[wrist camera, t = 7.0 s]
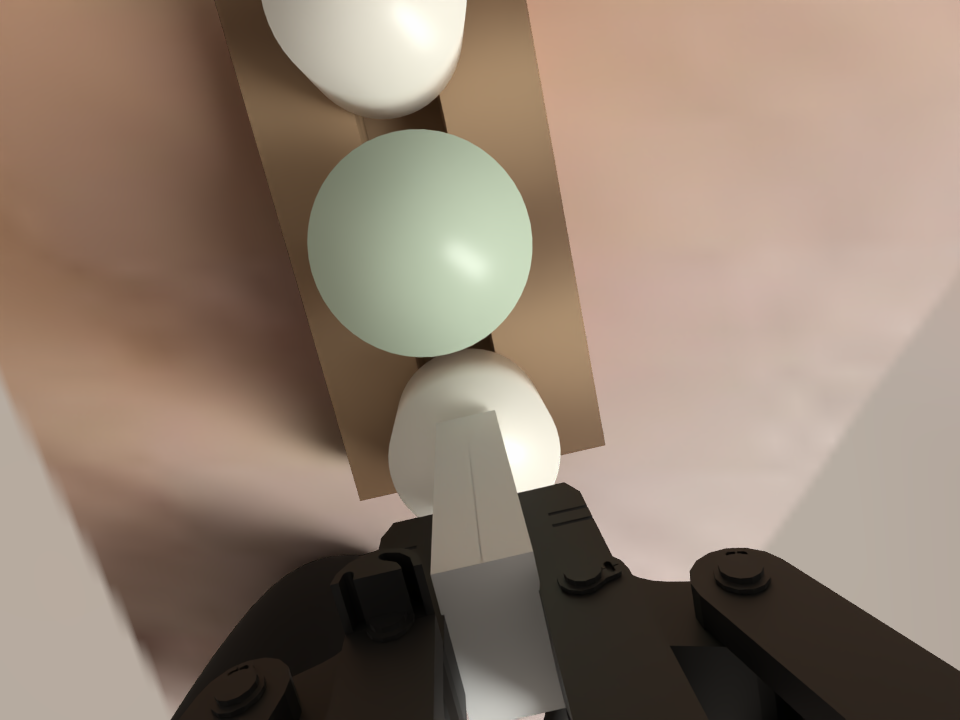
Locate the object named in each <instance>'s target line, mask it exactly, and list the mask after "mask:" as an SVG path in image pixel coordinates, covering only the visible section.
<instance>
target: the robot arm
mask: <svg viewBox="0 0 960 720" xmlns="http://www.w3.org/2000/svg"><path fill="white" fill-rule="evenodd" d="M330 588H331V591H332V594H333V597H334V600H335V604H336V607H337V610H338V613H339V616H340V620H341V623H342V626H343V629H344V632H345V638H344V642H343V647H342V651H341V652H339V653H338V654H337V655H335V656H334V657H332V658H330V659H328V660H327V661H325V662H323V663H321V664H319V665H317V666H315V667H313V668H310V669H308V670H306V671H304V672H302V673H300V674H297V675H295V676H293V677H292V676H291V673H290V670H289V667H288V666H287V665H286V664H285V663H284V662H282V661H281V660H280V659H274V658H266V657H265V658H260V659H255V660H250V661H247V662H244V663H241V664H239V665H238V666H237V665H236V666H234V667H232V668H230V669H228V670H227V671H226V672H224V673H223V674H221V675H220V676H219V677H217V678H216V679H214V680H213V681H211V682H210V683H209V684H208V685H207V686H206V687H205V688H204V689H203V690H202V691H201V693H200V694H199V695H198V696H197V697H196V698H195V699H194V701H193V702H192V703H191V704H190V706H189V707H188V708H187V710H186V711H185V712H184V713H183V715H182V716H181V717H180V719H179V720H467V715H466V709H467V713H468V717H469V720H514V719H519V718H523V717H527V716H532V715H536V714H540V713H545V712H549V711H553V710H558V709H562V708H566V712H567V716H568V720H960V671H958V670H957V669H955V668H954V667H952V666H951V665H949V664H948V663H946V662H945V661H943V660H941V659H940V658H938V657H937V656H935V655H933V654H932V653H930V652H929V651H927V650H925V649H924V648H922V647H921V646H919V645H918V644H916V643H914V642H913V641H911V640H910V639H908V638H907V637H905V636H903V635H902V634H900V633H898V632H897V631H895V630H894V629H892V628H890V627H889V626H888V625H886V624H884V623H883V622H881V621H880V620H878V619H876V618H875V617H873V616H872V615H870V614H869V613H867V612H865V611H864V610H862V609H861V608H859V607H857V606H856V605H854V604H852V603H851V602H849V601H848V600H846V599H845V598H843V597H842V596H840V595H838V594H837V593H835V592H833V591H832V590H830V589H829V588H827V587H826V586H824V585H822V584H821V583H819V582H818V581H816V580H815V579H813V578H811V577H810V576H808V575H807V574H805V573H803V572H802V571H800V570H799V569H797V568H796V567H794V566H792V565H791V564H789V563H788V562H786V561H784V560H783V559H781V558H779V557H776V556H774V555H772V554H770V553H767V552H765V551H760V550H754V549H749V548H726V549H722V550H718V551H715V552H711V553H708V554H707V555H705V556H703V557H702V558H700V559H698V560H697V561H696V562H695V564H694V565H693V567H692V568H691V570H690V582H664V581H651V580H647V579H642V578H639V577H636V576H634V575H632V574H631V572H630V570H629V568H628V567H627V566H626V565H625V564H624V563H623V562H622V561H621V560H619V559H617V558H615V557H612V555H611V553H610V551H609V549H608V547H607V545H606V543H605V541H604V539H603V537H602V535H601V533H600V531H599V529H598V527H597V525H596V523H595V521H594V519H593V518H592V515H591V513H590V511H589V509H588V507H587V505H586V503H585V501H584V499H583V497H582V495H581V493H580V491H578V490H576V489H575V488H573V487H571V486H570V485H568V484H566V483H564V482H563V483H559V484H555V485H550V486H546V487H541V488H537V489H533V490H528V491H524V492H519V493H517V490H516V486H515V482H514V479H513V475H512V471H511V468H510V464H509V460H508V457H507V453H506V449H505V445H504V442H503V438H502V434H501V431H500V427H499V423H498V420H497V416H496V412H495V410H492V411H488V412H483V413H479V414H474V415H470V416H465V417H461V418H457V419H452V420H448V421H443V422H439V423H436V442H435V468H434V494H433V514H431V515H427V516H423V517H418V518H414V519H410V520H405V521H401V522H396V523H393V525H392V526H391V527H390V528H389V530H388V531H387V532H386V533H385V535H384V536H383V537H382V538H381V542H380V547H379V550H377V551H374V552H371V553H368V554H365V555H363V556H361V557H359V558H357V559H356V560H354V561H352V562H350V563H348V564H347V565H346V566H345V567H344V568H343V569H341V570H340V571H339V572H338V573H337V574H336V575H335V577H334V579H333V580H332V582H331V584H330Z"/></svg>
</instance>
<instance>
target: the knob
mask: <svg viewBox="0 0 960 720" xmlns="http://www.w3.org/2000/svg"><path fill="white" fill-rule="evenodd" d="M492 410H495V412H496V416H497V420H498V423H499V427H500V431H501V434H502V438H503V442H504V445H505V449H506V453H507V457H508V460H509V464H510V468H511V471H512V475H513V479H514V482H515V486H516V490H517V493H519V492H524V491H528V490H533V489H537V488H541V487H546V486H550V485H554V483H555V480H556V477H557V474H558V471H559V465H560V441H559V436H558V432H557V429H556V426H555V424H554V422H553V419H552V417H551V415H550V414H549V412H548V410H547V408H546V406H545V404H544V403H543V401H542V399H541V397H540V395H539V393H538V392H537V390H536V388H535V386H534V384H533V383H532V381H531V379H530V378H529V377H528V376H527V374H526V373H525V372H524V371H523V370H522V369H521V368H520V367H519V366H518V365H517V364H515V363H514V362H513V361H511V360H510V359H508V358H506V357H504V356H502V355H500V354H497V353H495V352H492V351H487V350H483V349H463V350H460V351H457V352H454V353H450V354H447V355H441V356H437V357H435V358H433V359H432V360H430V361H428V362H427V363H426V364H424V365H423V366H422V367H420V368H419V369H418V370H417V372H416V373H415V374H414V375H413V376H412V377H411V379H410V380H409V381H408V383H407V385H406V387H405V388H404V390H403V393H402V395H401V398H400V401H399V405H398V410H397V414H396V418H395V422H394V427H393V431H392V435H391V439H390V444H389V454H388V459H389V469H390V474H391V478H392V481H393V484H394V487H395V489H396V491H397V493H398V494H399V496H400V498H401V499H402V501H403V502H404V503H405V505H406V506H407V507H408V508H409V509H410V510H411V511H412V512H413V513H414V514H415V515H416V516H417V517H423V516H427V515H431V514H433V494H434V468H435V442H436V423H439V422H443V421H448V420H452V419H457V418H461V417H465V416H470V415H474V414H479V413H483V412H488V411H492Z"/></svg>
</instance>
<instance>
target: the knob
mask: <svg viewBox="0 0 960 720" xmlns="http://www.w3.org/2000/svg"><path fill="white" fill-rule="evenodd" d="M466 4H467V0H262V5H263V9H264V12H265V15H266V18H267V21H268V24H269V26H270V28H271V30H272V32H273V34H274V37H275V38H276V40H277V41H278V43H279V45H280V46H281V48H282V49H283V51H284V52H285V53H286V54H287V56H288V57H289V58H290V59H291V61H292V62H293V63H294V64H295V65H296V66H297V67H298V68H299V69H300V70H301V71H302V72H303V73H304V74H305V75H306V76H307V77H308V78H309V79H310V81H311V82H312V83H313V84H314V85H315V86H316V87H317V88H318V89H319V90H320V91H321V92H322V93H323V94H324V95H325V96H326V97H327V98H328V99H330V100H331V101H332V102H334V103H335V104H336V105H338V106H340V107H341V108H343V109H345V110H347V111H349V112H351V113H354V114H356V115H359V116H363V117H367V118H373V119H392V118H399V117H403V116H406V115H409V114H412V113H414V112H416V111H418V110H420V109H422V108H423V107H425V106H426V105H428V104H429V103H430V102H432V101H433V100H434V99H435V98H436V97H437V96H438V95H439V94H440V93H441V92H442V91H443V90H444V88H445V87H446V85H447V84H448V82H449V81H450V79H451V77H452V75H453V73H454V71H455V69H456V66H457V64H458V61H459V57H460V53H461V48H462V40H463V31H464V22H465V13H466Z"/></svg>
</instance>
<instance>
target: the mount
mask: <svg viewBox="0 0 960 720" xmlns="http://www.w3.org/2000/svg"><path fill="white" fill-rule="evenodd" d="M215 4H216V7H217V11H218V14H219V18H220V21H221V24H222V28H223V31H224V35H225V38H226V42H227V45H228V48H229V52H230V55H231V59H232V62H233V66H234V69H235V73H236V76H237V79H238V83H239V86H240V90H241V93H242V97H243V100H244V103H245V107H246V110H247V114H248V117H249V121H250V124H251V127H252V131H253V134H254V138H255V141H256V145H257V148H258V151H259V155H260V158H261V162H262V165H263V169H264V172H265V175H266V179H267V182H268V186H269V189H270V193H271V196H272V199H273V203H274V206H275V210H276V213H277V217H278V220H279V223H280V227H281V230H282V234H283V237H284V241H285V244H286V247H287V251H288V254H289V258H290V261H291V265H292V268H293V271H294V275H295V278H296V282H297V285H298V289H299V292H300V296H301V299H302V302H303V306H304V309H305V313H306V316H307V320H308V323H309V326H310V330H311V333H312V337H313V340H314V344H315V347H316V350H317V354H318V357H319V361H320V364H321V368H322V371H323V374H324V378H325V381H326V385H327V388H328V392H329V395H330V398H331V402H332V405H333V409H334V412H335V416H336V419H337V422H338V426H339V429H340V433H341V436H342V440H343V443H344V446H345V450H346V453H347V457H348V460H349V464H350V467H351V470H352V474H353V477H354V481H355V484H356V488H357V491H358V495H359V498H360V501H362V500H367V499H371V498H375V497H380V496H384V495H388V494H393V493H397V491H396V489H395V487H394V484H393V481H392V478H391V474H390V469H389V459H388V454H389V444H390V439H391V435H392V431H393V427H394V422H395V418H396V414H397V410H398V405H399V401H400V398H401V395H402V393H403V390H404V388H405V387H406V385H407V383H408V381H409V380H410V379H411V377H412V376H413V375H414V374H415V373H416V372H417V370H418V369H419V368H420V367H422V366H423V365H424V364H426V363H427V362H428V361H430V360H432V359H433V358H435V357H437V356H435V357H411V356H403V355H398V354H394V353H390V352H387V351H384V350H382V349H379V348H376V347H374V346H373V345H371V344H369V343H367V342H365V341H363V340H362V339H360V338H359V337H357V336H356V335H354V334H353V333H352V332H351V331H349V330H348V329H347V328H346V327H345V326H344V325H343V324H341V322H340V321H339V320H338V319H337V318H336V317H335V316H334V314H333V313H332V312H331V311H330V309H329V308H328V306H327V305H326V303H325V302H324V300H323V298H322V296H321V294H320V292H319V290H318V288H317V286H316V283H315V281H314V278H313V275H312V272H311V267H310V263H309V258H308V246H307V238H308V225H309V220H310V214H311V210H312V207H313V204H314V201H315V198H316V196H317V194H318V192H319V190H320V188H321V186H322V184H323V183H324V181H325V179H326V178H327V176H328V175H329V173H330V172H331V171H332V170H333V169H334V167H335V166H336V165H337V164H338V163H339V162H340V161H341V160H342V159H343V158H344V157H345V156H347V155H348V154H349V153H350V152H351V151H352V150H354V149H356V148H357V147H359V146H360V145H362V144H363V143H365V142H367V141H369V140H372V139H374V138H376V137H378V136H381V135H384V134H388V133H391V132H395V131H402V130H409V129H426V130H433V131H440V132H444V133H448V134H451V135H455V136H457V137H460V138H462V139H464V140H467V141H469V142H471V143H472V144H474V145H476V146H477V147H479V148H481V149H482V150H483V151H485V152H486V153H487V154H489V155H490V156H491V157H492V158H494V159H495V160H496V161H497V162H498V163H499V164H500V166H501V167H502V168H503V169H504V170H505V171H506V172H507V174H508V175H509V176H510V178H511V179H512V180H513V182H514V183H515V185H516V187H517V189H518V191H519V192H520V194H521V196H522V199H523V201H524V204H525V206H526V209H527V212H528V216H529V220H530V224H531V232H532V259H531V267H530V271H529V275H528V279H527V282H526V285H525V287H524V290H523V292H522V294H521V296H520V298H519V300H518V302H517V303H516V305H515V307H514V308H513V310H512V311H511V312H510V314H509V315H508V316H507V318H506V319H505V320H504V321H503V322H502V323H501V324H500V325H499V326H498V327H497V328H496V329H495V330H494V331H493V332H491V333H490V334H489V335H488V336H486V337H485V338H484V339H482V340H480V341H479V342H477V343H475V344H474V345H472V346H469V347H467V348H465V349H483V350H487V351H492V352H495V353H497V354H500V355H502V356H504V357H506V358H508V359H510V360H511V361H513V362H514V363H515V364H517V365H518V366H519V367H520V368H521V369H522V370H523V371H524V372H525V373H526V374H527V376H528V377H529V378H530V379H531V381H532V383H533V384H534V386H535V388H536V390H537V392H538V393H539V395H540V397H541V399H542V401H543V403H544V404H545V406H546V408H547V410H548V412H549V414H550V415H551V417H552V419H553V422H554V424H555V426H556V429H557V432H558V436H559V441H560V455H564V454H568V453H573V452H577V451H582V450H586V449H590V448H595V447H599V446H604V445H605V441H604V435H603V430H602V424H601V419H600V413H599V407H598V402H597V396H596V390H595V385H594V379H593V374H592V368H591V362H590V357H589V351H588V345H587V340H586V334H585V329H584V323H583V317H582V312H581V306H580V300H579V295H578V289H577V284H576V278H575V272H574V267H573V261H572V256H571V250H570V244H569V239H568V233H567V227H566V222H565V216H564V211H563V205H562V199H561V194H560V188H559V182H558V177H557V171H556V166H555V160H554V154H553V149H552V143H551V137H550V132H549V126H548V121H547V115H546V109H545V104H544V98H543V93H542V87H541V81H540V76H539V70H538V64H537V59H536V53H535V48H534V42H533V36H532V31H531V25H530V19H529V14H528V8H527V3H526V0H467V4H466V13H465V22H464V31H463V40H462V48H461V53H460V57H459V61H458V64H457V66H456V69H455V71H454V73H453V75H452V77H451V79H450V81H449V82H448V84H447V85H446V87H445V88H444V90H443V91H442V92H441V93H440V94H439V95H438V96H437V97H436V98H435V99H434V100H433V101H432V102H430V103H429V104H428V105H426V106H425V107H423V108H422V109H420V110H418V111H416V112H414V113H412V114H409V115H406V116H403V117H399V118H392V119H373V118H367V117H363V116H359V115H356V114H354V113H351V112H349V111H347V110H345V109H343V108H341V107H340V106H338V105H336V104H335V103H334V102H332V101H331V100H330V99H328V98H327V97H326V96H325V95H324V94H323V93H322V92H321V91H320V90H319V89H318V88H317V87H316V86H315V85H314V84H313V83H312V82H311V81H310V79H309V78H308V77H307V76H306V75H305V74H304V73H303V72H302V71H301V70H300V69H299V68H298V67H297V66H296V65H295V64H294V63H293V62H292V61H291V59H290V58H289V57H288V56H287V54H286V53H285V52H284V51H283V49H282V48H281V46H280V45H279V43H278V41H277V40H276V38H275V37H274V34H273V32H272V30H271V28H270V26H269V24H268V21H267V18H266V15H265V12H264V9H263V5H262V0H215Z"/></svg>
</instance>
